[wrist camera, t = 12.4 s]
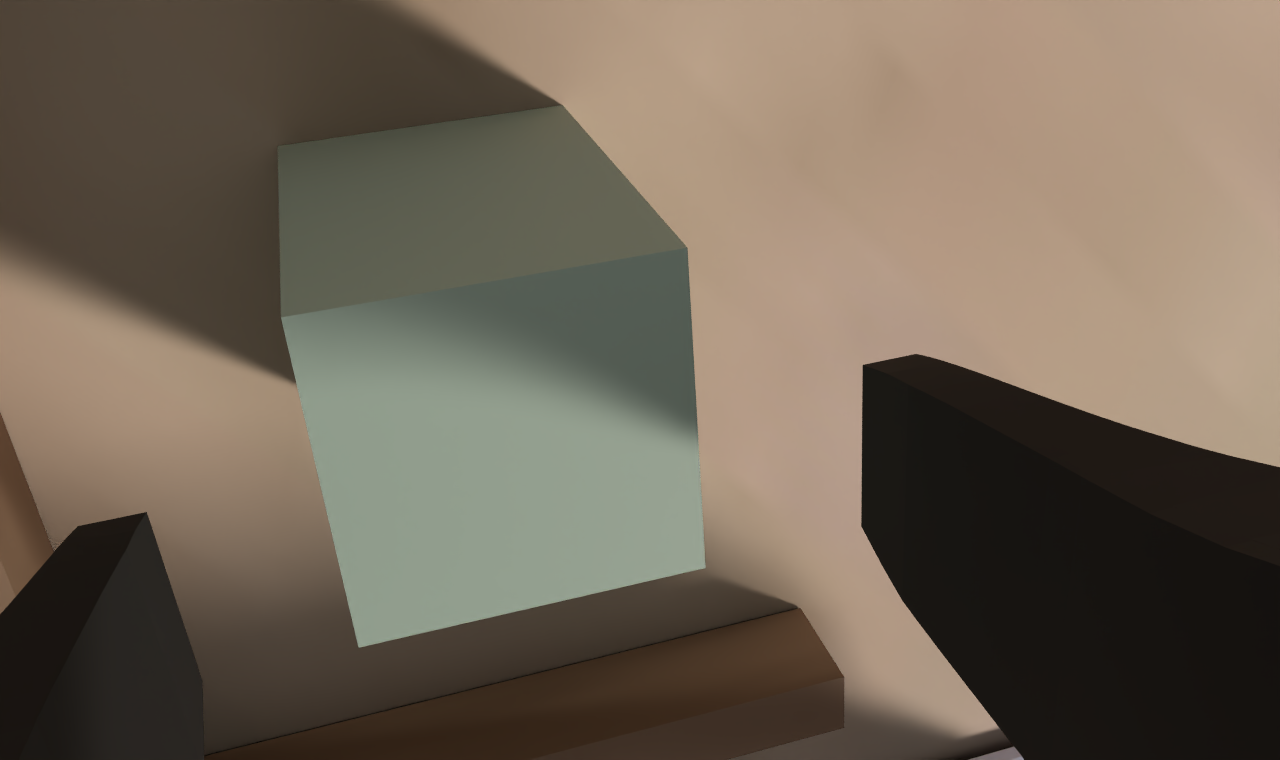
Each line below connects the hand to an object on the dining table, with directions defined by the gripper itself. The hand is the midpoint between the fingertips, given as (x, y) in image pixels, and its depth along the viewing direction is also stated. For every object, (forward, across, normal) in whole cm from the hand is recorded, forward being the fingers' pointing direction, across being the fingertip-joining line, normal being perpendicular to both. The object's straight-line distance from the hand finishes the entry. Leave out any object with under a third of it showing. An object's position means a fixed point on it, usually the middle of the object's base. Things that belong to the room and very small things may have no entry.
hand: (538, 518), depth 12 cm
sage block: (+7, 0, 0) cm, 7 cm away
